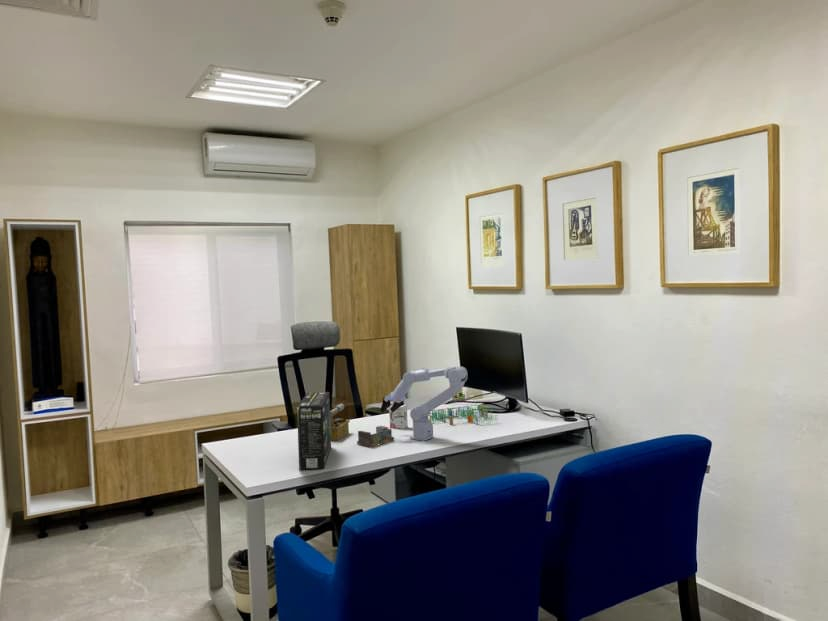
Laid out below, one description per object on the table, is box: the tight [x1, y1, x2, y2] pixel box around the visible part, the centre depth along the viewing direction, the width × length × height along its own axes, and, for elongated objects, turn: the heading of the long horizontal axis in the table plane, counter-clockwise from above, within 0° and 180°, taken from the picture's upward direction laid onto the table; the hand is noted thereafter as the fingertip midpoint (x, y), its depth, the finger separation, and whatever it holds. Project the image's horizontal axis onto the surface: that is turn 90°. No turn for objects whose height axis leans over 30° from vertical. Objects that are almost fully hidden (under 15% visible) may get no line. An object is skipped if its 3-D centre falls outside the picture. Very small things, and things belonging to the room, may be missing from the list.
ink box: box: [388, 404, 409, 430], centre depth 322 cm, size 9×5×12 cm, turn 62°
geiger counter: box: [330, 403, 351, 441], centre depth 304 cm, size 9×26×15 cm, turn 167°
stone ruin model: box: [356, 428, 395, 448], centre depth 294 cm, size 16×9×6 cm, turn 138°
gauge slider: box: [375, 425, 390, 433], centre depth 297 cm, size 3×7×4 cm, turn 48°
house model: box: [427, 404, 498, 426], centre depth 334 cm, size 35×30×5 cm
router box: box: [296, 391, 332, 470], centre depth 271 cm, size 36×11×27 cm, turn 3°
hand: (386, 411), depth 307 cm, fingers open, 7 cm apart
